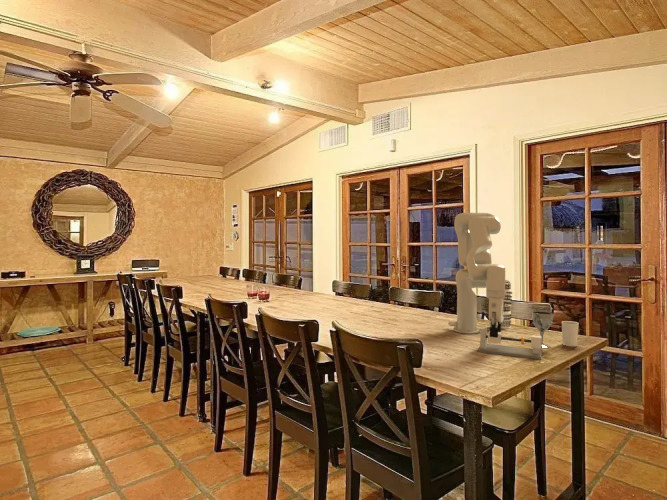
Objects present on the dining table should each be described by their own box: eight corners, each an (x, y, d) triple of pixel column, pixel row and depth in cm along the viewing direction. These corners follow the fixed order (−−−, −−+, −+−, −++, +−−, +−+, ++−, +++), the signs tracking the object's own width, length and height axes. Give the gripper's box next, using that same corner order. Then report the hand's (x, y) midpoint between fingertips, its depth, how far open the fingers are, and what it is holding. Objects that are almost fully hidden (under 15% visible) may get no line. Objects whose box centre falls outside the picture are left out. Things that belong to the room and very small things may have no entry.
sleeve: (487, 342, 184) (487, 333, 184) (489, 340, 187) (489, 331, 187) (500, 343, 182) (500, 334, 181) (501, 341, 185) (501, 332, 185)
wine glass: (549, 344, 194) (550, 311, 194) (553, 349, 187) (554, 314, 186) (530, 343, 197) (531, 310, 196) (533, 347, 189) (534, 313, 188)
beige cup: (580, 347, 191) (580, 324, 190) (563, 346, 192) (564, 323, 192) (575, 343, 197) (575, 321, 197) (559, 342, 198) (559, 320, 198)
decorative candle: (508, 325, 236) (509, 279, 235) (514, 329, 227) (515, 281, 226) (491, 324, 237) (492, 279, 236) (496, 328, 228) (496, 281, 227)
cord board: (477, 351, 182) (477, 330, 182) (482, 345, 193) (482, 325, 192) (540, 359, 171) (541, 336, 171) (542, 352, 182) (542, 330, 181)
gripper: (502, 297, 174) (502, 339, 174) (507, 293, 190) (507, 332, 190) (483, 296, 178) (482, 337, 178) (489, 292, 193) (488, 330, 193)
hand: (495, 335), depth 184 cm, fingers open, 9 cm apart
